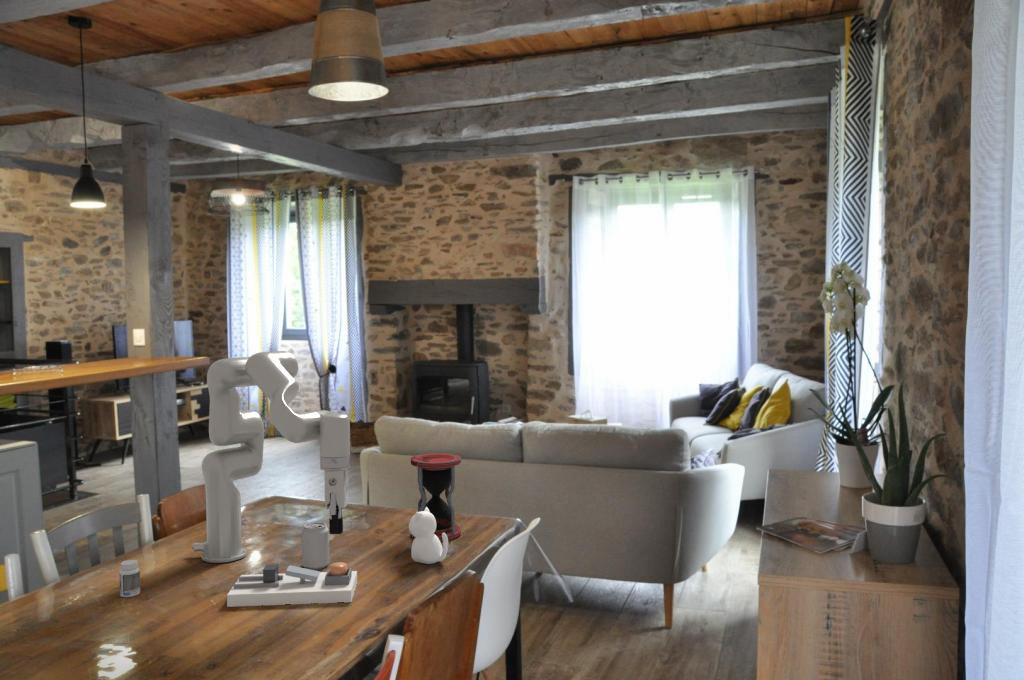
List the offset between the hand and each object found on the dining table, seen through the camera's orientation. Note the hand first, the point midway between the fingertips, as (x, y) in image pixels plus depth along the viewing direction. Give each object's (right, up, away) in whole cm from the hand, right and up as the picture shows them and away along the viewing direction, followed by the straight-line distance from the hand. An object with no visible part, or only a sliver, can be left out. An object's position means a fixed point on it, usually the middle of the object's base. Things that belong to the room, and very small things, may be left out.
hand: (336, 533), depth 197 cm
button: (0, -11, +1) cm, 11 cm away
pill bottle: (-53, -16, 0) cm, 55 cm away
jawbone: (-18, -14, +45) cm, 50 cm away
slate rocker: (-9, -10, 0) cm, 13 cm away
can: (-11, -15, +21) cm, 28 cm away
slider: (-16, -12, -1) cm, 21 cm away
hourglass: (+21, -13, +51) cm, 57 cm away
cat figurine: (+21, -15, +25) cm, 36 cm away
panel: (-11, -16, 0) cm, 19 cm away
